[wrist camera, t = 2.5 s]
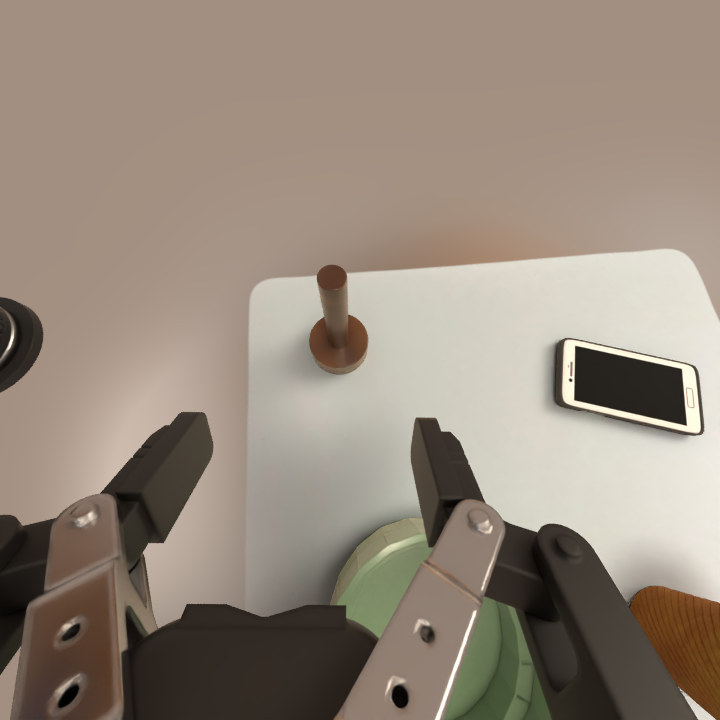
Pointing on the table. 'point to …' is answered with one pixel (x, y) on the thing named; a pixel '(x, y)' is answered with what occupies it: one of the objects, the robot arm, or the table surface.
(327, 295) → the wooden rod on disc
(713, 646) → the disposable coffee cup
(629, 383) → the cell phone
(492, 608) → the mixing bowl
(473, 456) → the table surface
